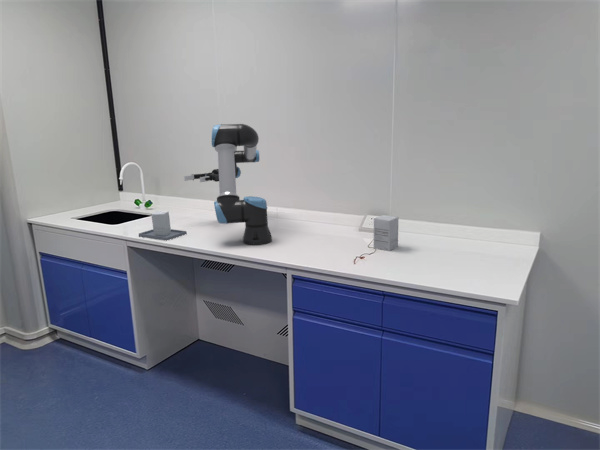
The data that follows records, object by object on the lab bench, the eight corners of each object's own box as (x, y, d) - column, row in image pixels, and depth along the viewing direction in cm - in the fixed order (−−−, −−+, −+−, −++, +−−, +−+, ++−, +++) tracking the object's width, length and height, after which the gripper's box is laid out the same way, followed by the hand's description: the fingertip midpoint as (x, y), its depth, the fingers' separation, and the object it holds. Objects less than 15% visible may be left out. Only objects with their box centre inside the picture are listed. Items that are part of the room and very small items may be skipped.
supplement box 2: (381, 243, 212) (382, 214, 208) (398, 246, 206) (399, 216, 203) (372, 248, 205) (373, 218, 202) (389, 251, 200) (390, 220, 196)
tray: (186, 234, 242) (186, 231, 242) (166, 240, 229) (166, 237, 229) (159, 230, 253) (158, 227, 252) (138, 236, 240) (138, 233, 240)
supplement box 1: (171, 232, 244) (169, 211, 241) (166, 236, 237) (163, 214, 234) (159, 232, 245) (156, 211, 242) (153, 236, 238) (150, 214, 235)
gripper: (234, 182, 255) (207, 187, 238) (206, 179, 269) (179, 184, 253) (233, 169, 253) (206, 173, 236) (205, 167, 267) (178, 171, 251)
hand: (192, 179), depth 245 cm, fingers open, 13 cm apart
